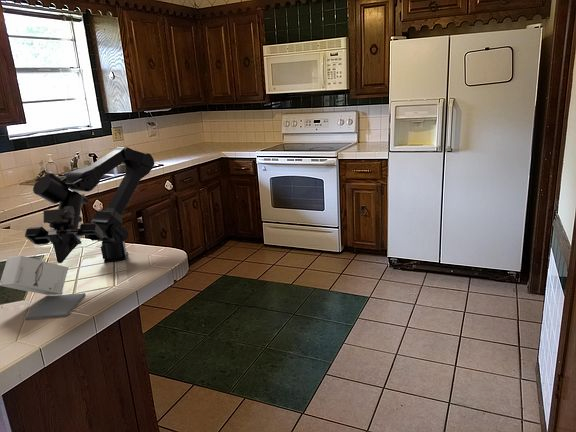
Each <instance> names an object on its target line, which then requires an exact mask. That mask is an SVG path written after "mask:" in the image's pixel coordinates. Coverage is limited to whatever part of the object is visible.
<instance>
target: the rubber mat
mask: <svg viewBox="0 0 576 432" xmlns="http://www.w3.org/2000/svg"><path fill="white" fill-rule="evenodd" d="M85 296H86V293H84V292H82V293H71V294H57V295H47V296H45V298H43V300H41V301H40V302H39V303H38V304H37V305H36V306H35V307H33V309H32V310H31V311H30V312H29V313H28V314H27V315H26V316H25V317H24V320H26V321H27V320H38V319H51V318H62V317H63V318H64V317H68V315H70V314H71V313H72V311H73V310H74V309H75V308H76V307H77V305H79V303H80V302H81V301H82V300H83V299H84V298H85Z"/></svg>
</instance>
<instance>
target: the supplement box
mask: <svg viewBox="0 0 576 432" xmlns="http://www.w3.org/2000/svg"><path fill="white" fill-rule="evenodd" d="M5 261H6V262H5V266H4V269H3V271H2V274H1V278H0V287H5V288H8V289H15V290H20V291H24V292H25V291H26V292H30V293H35V294H36V293H37V294H40V295H45V296H46V295H47V296H57V295H63V291H64V286H65V282H66V278H67V275H68V271H69V267H68V266H64V265H60V264H56V263H52V262H48V261H45V260H41V259H37V258H34V257H29V256H25V255H18V256H17V255H15V256H7V258H6V260H5Z"/></svg>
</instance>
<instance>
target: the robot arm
mask: <svg viewBox="0 0 576 432" xmlns="http://www.w3.org/2000/svg"><path fill="white" fill-rule="evenodd" d="M121 164H124V167H125V174H124V175H123V178H122V179H121V182H120V183H119V185H118V187H117V188H116V191H115V193H114V195H113V197H111V201H110V202H109V204H108V206H107V207H106V209H104V210H97V211H96V212H95V214H94V217H93V218H92V220H90V222H86V223H85V222H83V223H81V224H80V222H82V221H83V220H82V218H83V217H81V211H82V206H83V205H85V204H88V203H90V201H89V199H88V198H87V197H86V195H85V194H82V193H81V194H80V193H79V192H92V191H93V190H94V189H95V188H96V187H97V186H98V185H99V184H100V182H101V179H102V177H104V176H105V175H107V174H108V173H110V172H111V171H113V170H114V169H116V168H117V167H118V166H120V165H121ZM154 166H155V159H154V157H153V156H152V155H151V153H148V152H145V153H144V152H141V151H139V150H135V149H132V148H130V147H128V146H118V147H115V148H114V149H112V151H110V152H108V153H107V154H105V155H103V156H102V157H101V158H99V159H98V160H96V161H95V162H93V163H92V164H90V165H88V166H85V167H81V168H77V169H74V170H72V171H69V172H68V173H66V175H65V177H63V178H62V179H60V178H59V177H57V176H56V175H55V174H54V173H52V172H46V173H45V174H44V176H42V177H41V178H39V179H38V180H37V181H36V182H35V183H34V185H33V188H32V191H33V193H34V194H35V195H36V196H38V197H40V198H42V199H44V200H45V201H47V202H49V203H50V204H52V205H56V204H58V203H59V204H58V207H57V209H45V210H43V211H42V212H43V216H42V217H43V221H42V222H43V223H44V224H49V228H50V229H45V227H43V226H31V227H28V228H26V230H25V232H24V237H25V238H26V239H27V240H29V242H31V243H32V244H34V245H36V246H41V245H48V244H49V243H51V244H52V246H53V248H54V253H55V259H56V262H57V263H58V264H62V263H64V261H65V260H66V259H67V257H68V256H69V255H70V254H71V253H72V252H73V251H74V249H76V247H77V246H78V245H81V244H82V240H81V239H82V236H88V238H89V239H90V240H91V242H92V241H93V242H94V241H97V242H101V246H100V251H101V255H102V260H103V262H104V263H112V262H119V261H125V260H127V257H128V254H129V252H128V251H127V247H126V242H125V241H126V240H128V239H129V231H128V230H126V229H125V228H123V227H122V226H123V224H124V223H123V217H122V216H123V213H124V212H125V211H126V207H127V206H128V204H129V202H130V201H131V198H132V197H133V195H134V193H135V191H136V189H137V187H138V185H139V183H140V181H141V180H142V179H143V178H145V177H146V176H148V175H149V174H150V172H151V171H152V169H153V168H154ZM79 224H80V225H79Z"/></svg>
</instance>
